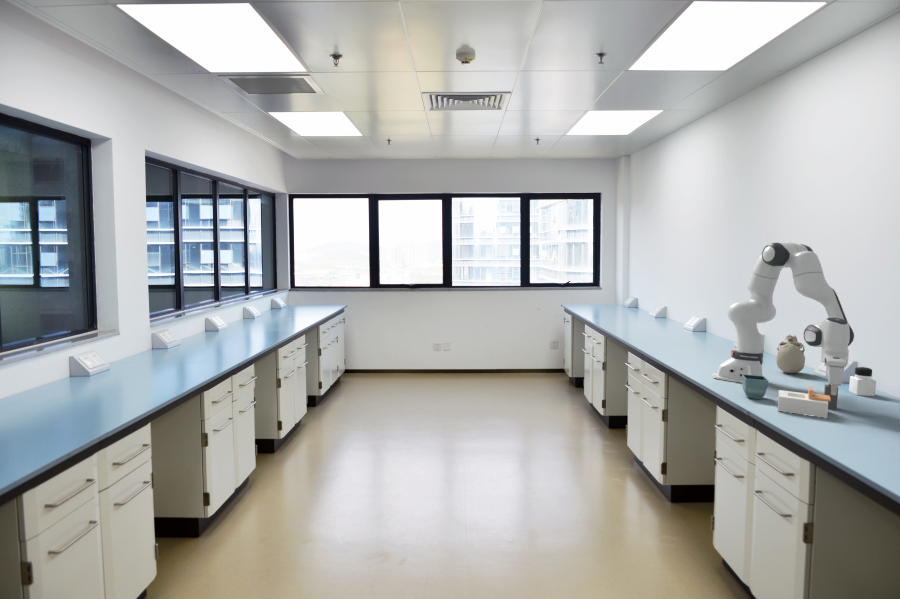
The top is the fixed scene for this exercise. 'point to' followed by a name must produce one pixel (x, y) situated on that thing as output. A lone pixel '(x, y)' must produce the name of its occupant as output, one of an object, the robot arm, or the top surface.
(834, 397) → the plug
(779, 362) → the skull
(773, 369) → the top surface
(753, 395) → the flower pot
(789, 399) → the socket
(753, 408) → the top surface
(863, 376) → the medicine bottle
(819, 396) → the shutter
